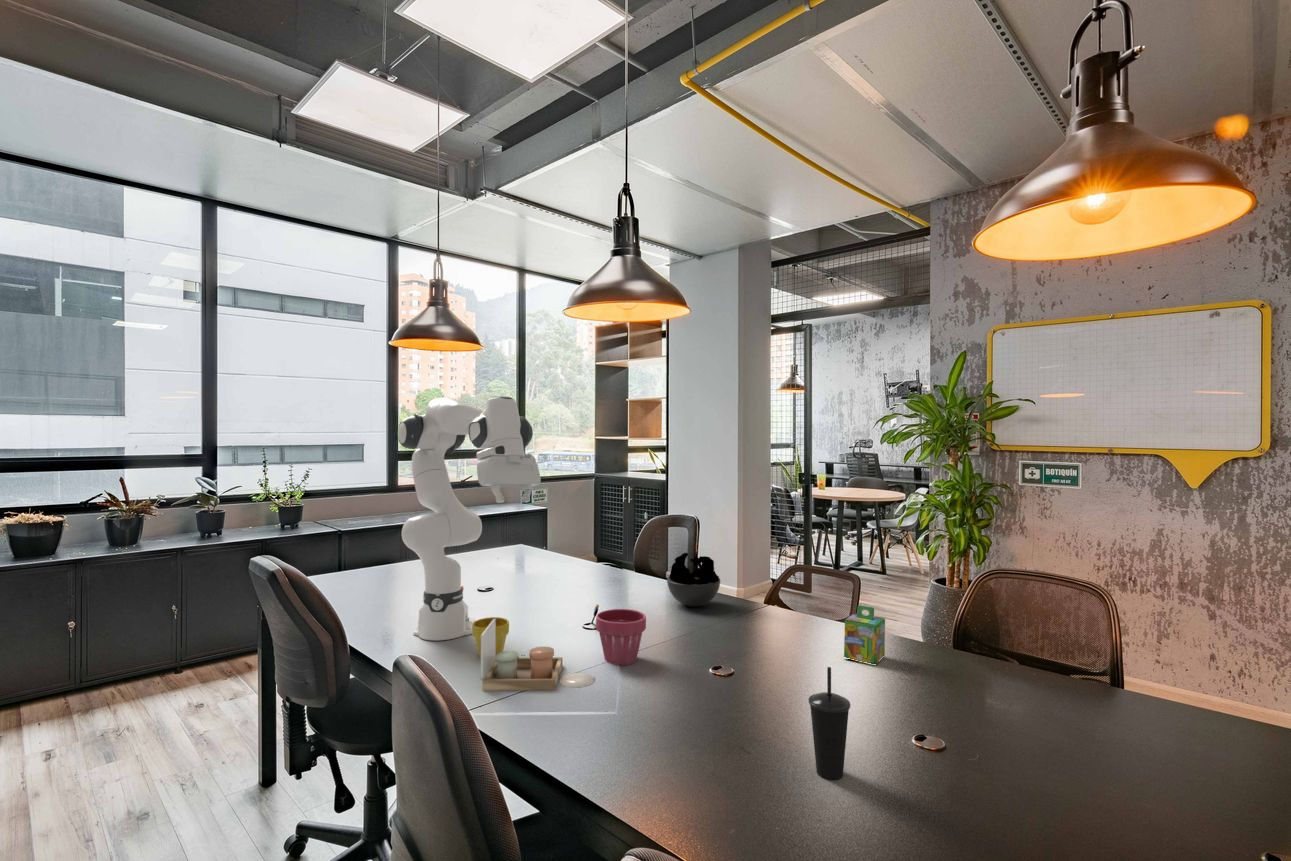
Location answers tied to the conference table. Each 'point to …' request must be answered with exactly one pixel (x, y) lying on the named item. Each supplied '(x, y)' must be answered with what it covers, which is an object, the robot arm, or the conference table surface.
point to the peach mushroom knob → (541, 662)
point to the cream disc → (577, 680)
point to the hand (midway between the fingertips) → (513, 502)
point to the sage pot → (507, 664)
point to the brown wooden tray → (522, 677)
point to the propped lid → (488, 649)
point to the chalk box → (864, 636)
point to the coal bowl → (693, 581)
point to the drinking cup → (829, 731)
